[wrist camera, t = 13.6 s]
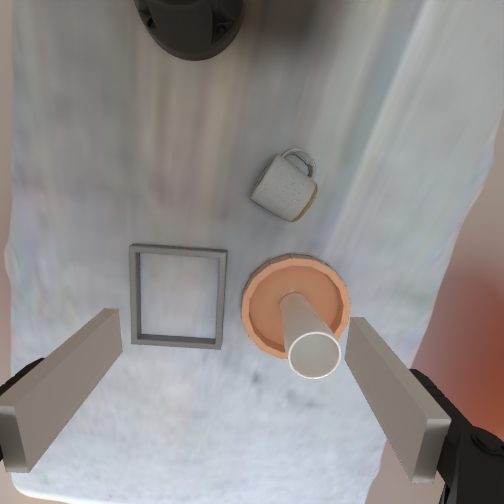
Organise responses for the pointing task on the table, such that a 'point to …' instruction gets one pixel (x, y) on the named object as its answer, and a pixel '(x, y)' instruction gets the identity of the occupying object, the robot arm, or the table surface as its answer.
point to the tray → (136, 300)
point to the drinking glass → (307, 338)
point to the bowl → (285, 282)
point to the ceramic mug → (286, 187)
